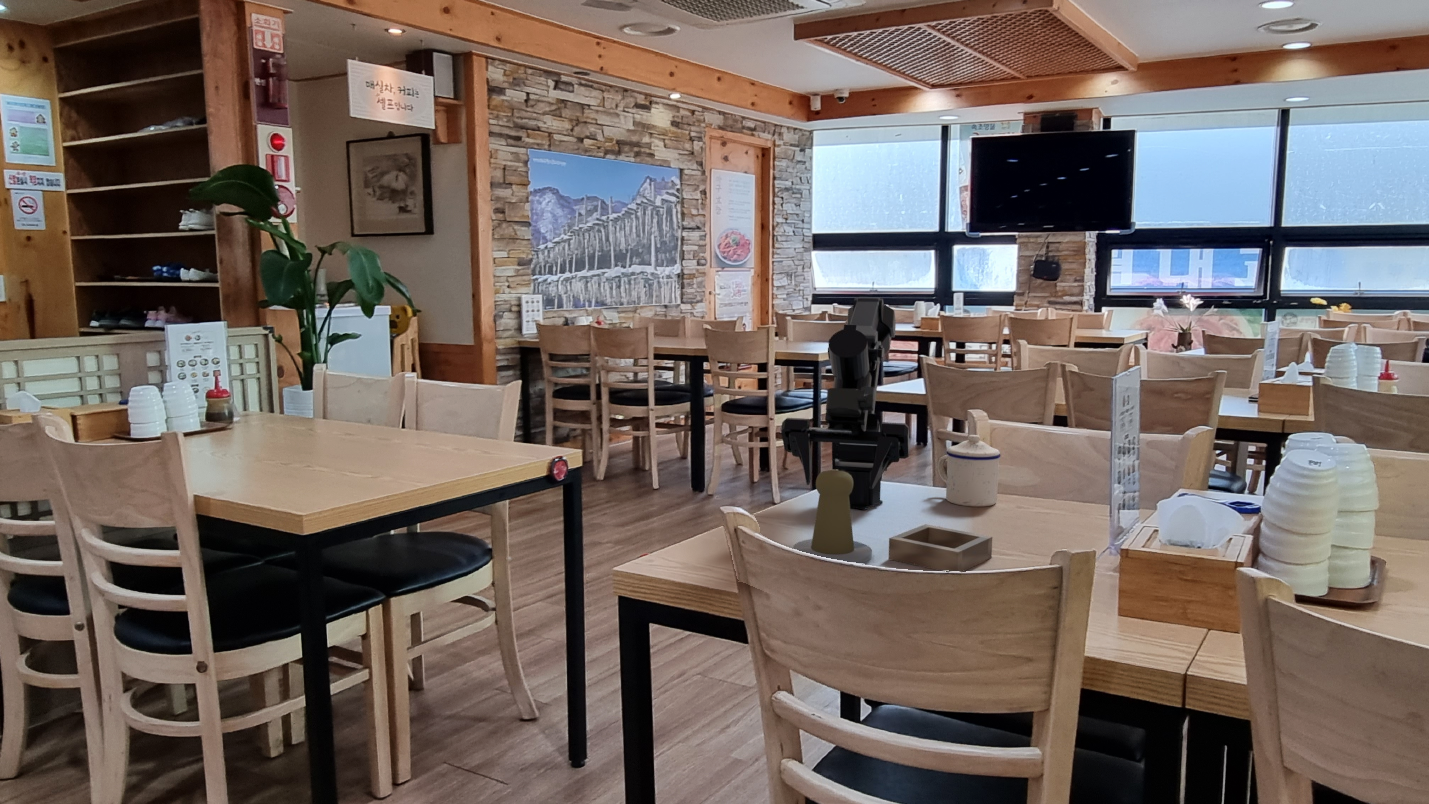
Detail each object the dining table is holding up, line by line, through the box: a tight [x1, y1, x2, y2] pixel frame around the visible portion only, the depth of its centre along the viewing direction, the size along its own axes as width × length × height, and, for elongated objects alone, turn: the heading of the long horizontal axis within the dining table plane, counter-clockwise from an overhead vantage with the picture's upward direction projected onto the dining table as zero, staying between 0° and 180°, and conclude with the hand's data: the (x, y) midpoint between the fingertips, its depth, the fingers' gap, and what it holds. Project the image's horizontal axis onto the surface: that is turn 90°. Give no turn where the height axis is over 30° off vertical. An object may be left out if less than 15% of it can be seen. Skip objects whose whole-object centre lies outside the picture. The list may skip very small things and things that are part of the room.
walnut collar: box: [888, 523, 993, 572], centre depth 140 cm, size 10×10×3 cm
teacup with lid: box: [937, 434, 1001, 508], centre depth 176 cm, size 12×9×12 cm
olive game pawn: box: [811, 469, 854, 554], centre depth 140 cm, size 6×6×11 cm
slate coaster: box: [792, 538, 873, 564], centre depth 141 cm, size 11×11×1 cm
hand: (839, 485), depth 145 cm, fingers open, 9 cm apart
